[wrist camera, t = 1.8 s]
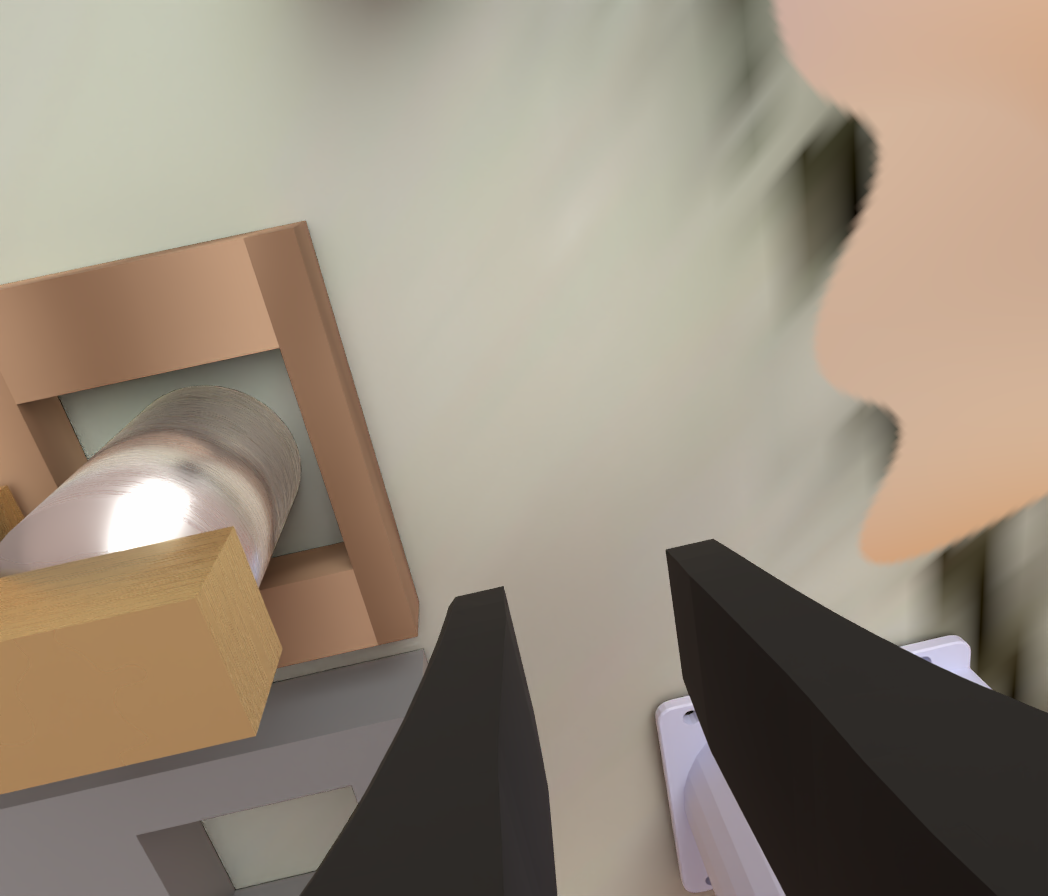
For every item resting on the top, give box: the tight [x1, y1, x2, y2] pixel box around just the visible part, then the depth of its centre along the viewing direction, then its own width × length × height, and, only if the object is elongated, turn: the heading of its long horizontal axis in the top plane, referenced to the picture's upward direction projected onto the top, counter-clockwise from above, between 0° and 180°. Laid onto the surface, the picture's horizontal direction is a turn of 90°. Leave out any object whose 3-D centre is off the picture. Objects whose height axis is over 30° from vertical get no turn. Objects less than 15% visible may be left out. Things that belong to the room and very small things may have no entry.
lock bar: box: [0, 485, 282, 795], centre depth 13 cm, size 8×2×7 cm, turn 101°
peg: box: [0, 385, 301, 588], centre depth 15 cm, size 4×4×6 cm
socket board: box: [0, 221, 419, 668], centre depth 17 cm, size 16×10×2 cm, turn 101°
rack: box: [0, 649, 428, 896], centre depth 21 cm, size 12×9×2 cm
